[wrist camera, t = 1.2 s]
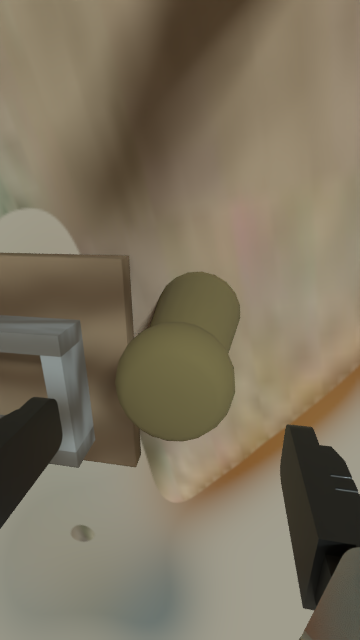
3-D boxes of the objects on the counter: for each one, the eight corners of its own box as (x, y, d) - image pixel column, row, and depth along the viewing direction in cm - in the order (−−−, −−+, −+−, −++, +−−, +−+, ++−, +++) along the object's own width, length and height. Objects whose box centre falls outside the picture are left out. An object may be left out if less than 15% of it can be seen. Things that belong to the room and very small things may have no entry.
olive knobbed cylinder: (234, 355, 22) (236, 477, 12) (156, 345, 23) (96, 451, 13) (246, 275, 20) (259, 343, 10) (159, 267, 21) (88, 323, 11)
